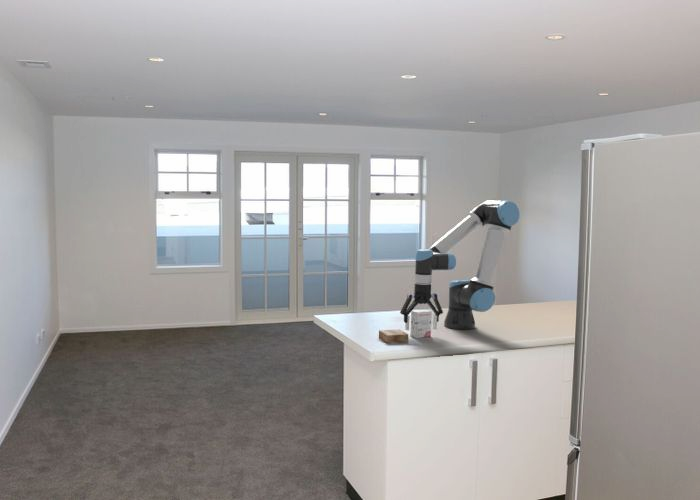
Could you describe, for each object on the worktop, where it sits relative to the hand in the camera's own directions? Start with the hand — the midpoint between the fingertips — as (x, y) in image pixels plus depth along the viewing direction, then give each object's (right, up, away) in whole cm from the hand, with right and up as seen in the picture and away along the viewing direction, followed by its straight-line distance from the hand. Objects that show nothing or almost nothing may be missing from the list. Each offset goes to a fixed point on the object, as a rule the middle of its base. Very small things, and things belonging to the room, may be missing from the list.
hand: (420, 329), depth 309 cm
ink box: (0, -3, 0) cm, 3 cm away
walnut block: (-13, -4, -9) cm, 17 cm away
